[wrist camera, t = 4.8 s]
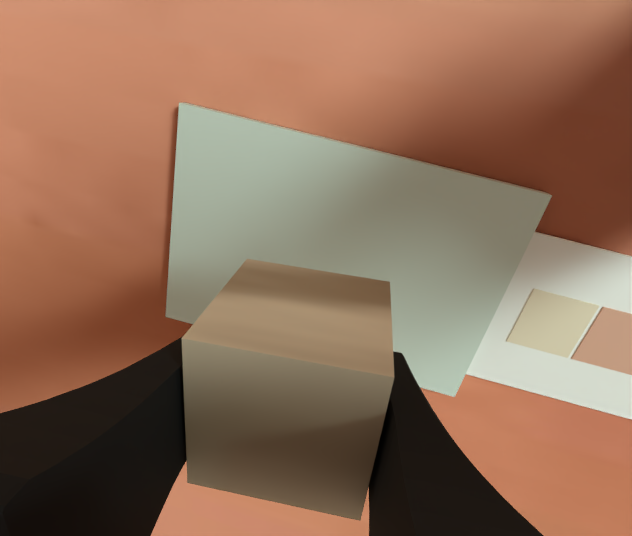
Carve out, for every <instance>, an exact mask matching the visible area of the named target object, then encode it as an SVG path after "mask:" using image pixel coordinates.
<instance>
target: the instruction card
mask: <svg viewBox="0 0 632 536" xmlns="http://www.w3.org/2000/svg"><path fill="white" fill-rule="evenodd" d="M466 374H468V375H471V376H475V377H478V378H482V379H486V380H489V381H493V382H497V383H500V384H504V385H508V386H511V387H515V388H519V389H522V390H526V391H530V392H533V393H537V394H540V395H544V396H548V397H551V398H555V399H559V400H562V401H566V402H570V403H573V404H577V405H581V406H584V407H588V408H592V409H595V410H599V411H603V412H606V413H610V414H613V415H617V416H621V417H624V418H628V419H632V256H630V255H626V254H622V253H618V252H614V251H610V250H606V249H602V248H598V247H594V246H590V245H586V244H582V243H579V242H575V241H571V240H567V239H563V238H559V237H555V236H551V235H547V234H543V233H539V232H534V234H533V236H532V238H531V240H530V242H529V244H528V247H527V249H526V251H525V253H524V255H523V257H522V259H521V261H520V263H519V265H518V267H517V269H516V271H515V273H514V275H513V277H512V280H511V282H510V284H509V286H508V288H507V290H506V292H505V294H504V296H503V298H502V300H501V302H500V304H499V306H498V308H497V310H496V312H495V315H494V317H493V319H492V321H491V323H490V325H489V327H488V329H487V331H486V333H485V335H484V337H483V339H482V341H481V343H480V345H479V348H478V350H477V352H476V354H475V356H474V358H473V360H472V362H471V364H470V366H469V368H468V370H467V372H466Z"/></svg>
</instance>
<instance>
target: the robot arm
mask: <svg viewBox="0 0 632 536" xmlns="http://www.w3.org/2000/svg"><path fill="white" fill-rule="evenodd" d="M393 358H394V381H393V385H392V390H391V394H390V398H389V402H388V406H387V411H386V415H385V419H384V423H383V427H382V432H381V436H380V440H379V444H378V448H377V453H376V457H375V461H374V465H373V469H372V474H371V478H370V482H369V536H543V535H542V534H541V533H540V532H539V531H538V530H537V529H536V528H535V527H533V526H532V525H531V524H530V523H529V522H528V521H527V520H526V519H525V518H524V517H523V516H522V515H521V514H519V513H518V512H517V511H516V510H515V509H514V508H513V507H512V506H511V505H510V504H509V503H508V502H507V501H506V500H505V499H504V498H503V497H502V496H501V495H500V494H499V493H498V492H497V491H496V489H495V488H494V487H493V486H492V485H491V484H490V483H489V482H488V481H487V480H486V479H485V478H484V477H483V476H482V474H481V473H480V472H479V471H478V470H477V469H476V468H475V467H474V465H473V464H472V463H471V462H470V461H469V459H468V458H467V457H466V456H465V454H464V453H463V452H462V451H461V449H460V448H459V447H458V446H457V444H456V443H455V442H454V440H453V439H452V437H451V436H450V435H449V433H448V432H447V430H446V429H445V427H444V426H443V425H442V423H441V422H440V420H439V419H438V417H437V416H436V414H435V412H434V411H433V409H432V408H431V406H430V404H429V403H428V401H427V399H426V397H425V396H424V394H423V392H422V391H421V389H420V387H419V385H418V383H417V381H416V380H415V378H414V376H413V374H412V372H411V370H410V368H409V366H408V364H407V361H406V359H405V357H404V356H403V354H402V353H399V352H394V351H393ZM186 460H187V457H186V433H185V409H184V385H183V361H182V337H181V338H179V339H178V340H176V341H174V342H172V343H171V344H169V345H167V346H166V347H164V348H162V349H161V350H159V351H157V352H155V353H153V354H151V355H149V356H148V357H146V358H144V359H142V360H140V361H138V362H136V363H134V364H132V365H131V366H129V367H127V368H125V369H123V370H120V371H118V372H116V373H114V374H112V375H110V376H107V377H105V378H103V379H100V380H98V381H96V382H93V383H91V384H88V385H86V386H83V387H81V388H78V389H75V390H72V391H69V392H67V393H64V394H61V395H58V396H56V397H53V398H50V399H47V400H44V401H41V402H38V403H35V404H31V405H28V406H25V407H22V408H18V409H14V410H11V411H7V412H4V413H0V536H151V533H152V531H153V529H154V526H155V524H156V522H157V519H158V517H159V515H160V513H161V510H162V508H163V506H164V504H165V502H166V499H167V497H168V495H169V493H170V491H171V488H172V486H173V484H174V482H175V480H176V478H177V476H178V475H179V473H180V471H181V469H182V467H183V465H184V464H185V462H186Z"/></svg>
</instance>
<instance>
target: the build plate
mask: <svg viewBox="0 0 632 536" xmlns="http://www.w3.org/2000/svg"><path fill="white" fill-rule="evenodd" d="M551 197H552V195H550V194H549V193H547V192H543V191H539V190H535V189H531V188H527V187H523V186H519V185H515V184H511V183H507V182H503V181H499V180H495V179H491V178H487V177H483V176H479V175H475V174H471V173H467V172H463V171H459V170H455V169H451V168H447V167H443V166H439V165H435V164H431V163H427V162H423V161H419V160H415V159H411V158H407V157H403V156H399V155H395V154H391V153H387V152H382V151H378V150H374V149H370V148H366V147H362V146H358V145H354V144H350V143H346V142H342V141H338V140H334V139H330V138H326V137H322V136H318V135H314V134H310V133H306V132H302V131H298V130H294V129H290V128H286V127H282V126H278V125H274V124H270V123H266V122H262V121H258V120H254V119H250V118H246V117H242V116H238V115H234V114H230V113H226V112H222V111H218V110H214V109H210V108H206V107H202V106H198V105H194V104H190V103H186V102H183V103H179V112H178V127H177V143H176V159H175V174H174V190H173V206H172V221H171V237H170V253H169V269H168V284H167V300H166V316H165V317H168V318H172V319H175V320H179V321H183V322H186V323H190V324H194V323H195V321H196V320H197V319H198V318H199V317H200V315H201V314H202V313H203V312H204V310H205V309H206V308H207V307H208V306H209V304H210V303H211V302H212V301H213V299H214V298H215V297H216V296H217V295H218V293H219V292H220V291H221V290H222V289H223V287H224V286H225V285H226V284H227V282H228V281H229V280H230V279H231V278H232V276H233V275H234V274H235V273H236V272H237V270H238V269H239V268H240V267H241V265H242V264H243V263H244V262H245V261H246V259H252V260H258V261H264V262H271V263H277V264H283V265H289V266H295V267H302V268H308V269H314V270H320V271H326V272H333V273H339V274H345V275H351V276H358V277H364V278H370V279H376V280H382V281H389V282H390V294H391V315H392V337H393V351H394V352H399V353H402V354H403V356H404V357H405V359H406V361H407V364H408V366H409V368H410V370H411V372H412V374H413V376H414V378H415V380H416V381H417V383H418V385H419V387H421V388H424V389H428V390H431V391H435V392H439V393H442V394H446V395H450V396H453V397H455V395H456V393H457V391H458V389H459V387H460V385H461V383H462V380H463V378H464V376H465V374H466V372H467V370H468V368H469V366H470V364H471V362H472V360H473V358H474V356H475V354H476V352H477V350H478V348H479V345H480V343H481V341H482V339H483V337H484V335H485V333H486V331H487V329H488V327H489V325H490V323H491V321H492V319H493V317H494V315H495V312H496V310H497V308H498V306H499V304H500V302H501V300H502V298H503V296H504V294H505V292H506V290H507V288H508V286H509V284H510V282H511V280H512V277H513V275H514V273H515V271H516V269H517V267H518V265H519V263H520V261H521V259H522V257H523V255H524V253H525V251H526V249H527V247H528V244H529V242H530V240H531V238H532V236H533V234H534V232H535V230H536V228H537V226H538V224H539V222H540V220H541V218H542V216H543V214H544V212H545V209H546V207H547V205H548V203H549V201H550V199H551Z"/></svg>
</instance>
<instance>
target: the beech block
mask: <svg viewBox="0 0 632 536" xmlns="http://www.w3.org/2000/svg"><path fill="white" fill-rule="evenodd" d="M182 361H183V385H184V409H185V433H186V457H187V481H188V483H191V484H195V485H200V486H204V487H209V488H214V489H218V490H223V491H227V492H232V493H236V494H241V495H246V496H250V497H255V498H259V499H264V500H268V501H273V502H277V503H282V504H287V505H291V506H296V507H300V508H305V509H309V510H314V511H319V512H323V513H328V514H332V515H337V516H341V517H346V518H351V519H355V520H361V516H362V511H363V507H364V503H365V499H366V495H367V490H368V486H369V482H370V478H371V474H372V469H373V465H374V461H375V457H376V453H377V448H378V444H379V440H380V436H381V432H382V427H383V423H384V419H385V415H386V411H387V406H388V402H389V398H390V394H391V390H392V385H393V381H394V358H393V337H392V315H391V294H390V282H389V281H382V280H376V279H370V278H364V277H358V276H351V275H345V274H339V273H333V272H326V271H320V270H314V269H308V268H302V267H295V266H289V265H283V264H277V263H271V262H264V261H258V260H252V259H246V261H245V262H244V263H243V264H242V265H241V267H240V268H239V269H238V270H237V272H236V273H235V274H234V275H233V276H232V278H231V279H230V280H229V281H228V282H227V284H226V285H225V286H224V287H223V289H222V290H221V291H220V292H219V293H218V295H217V296H216V297H215V298H214V299H213V301H212V302H211V303H210V304H209V306H208V307H207V308H206V309H205V310H204V312H203V313H202V314H201V315H200V317H199V318H198V319H197V320H196V321H195V323H194V324H193V325H192V326H191V327H190V329H189V330H188V331H187V332H186V334H185V335H184V336H183V337H182Z"/></svg>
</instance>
